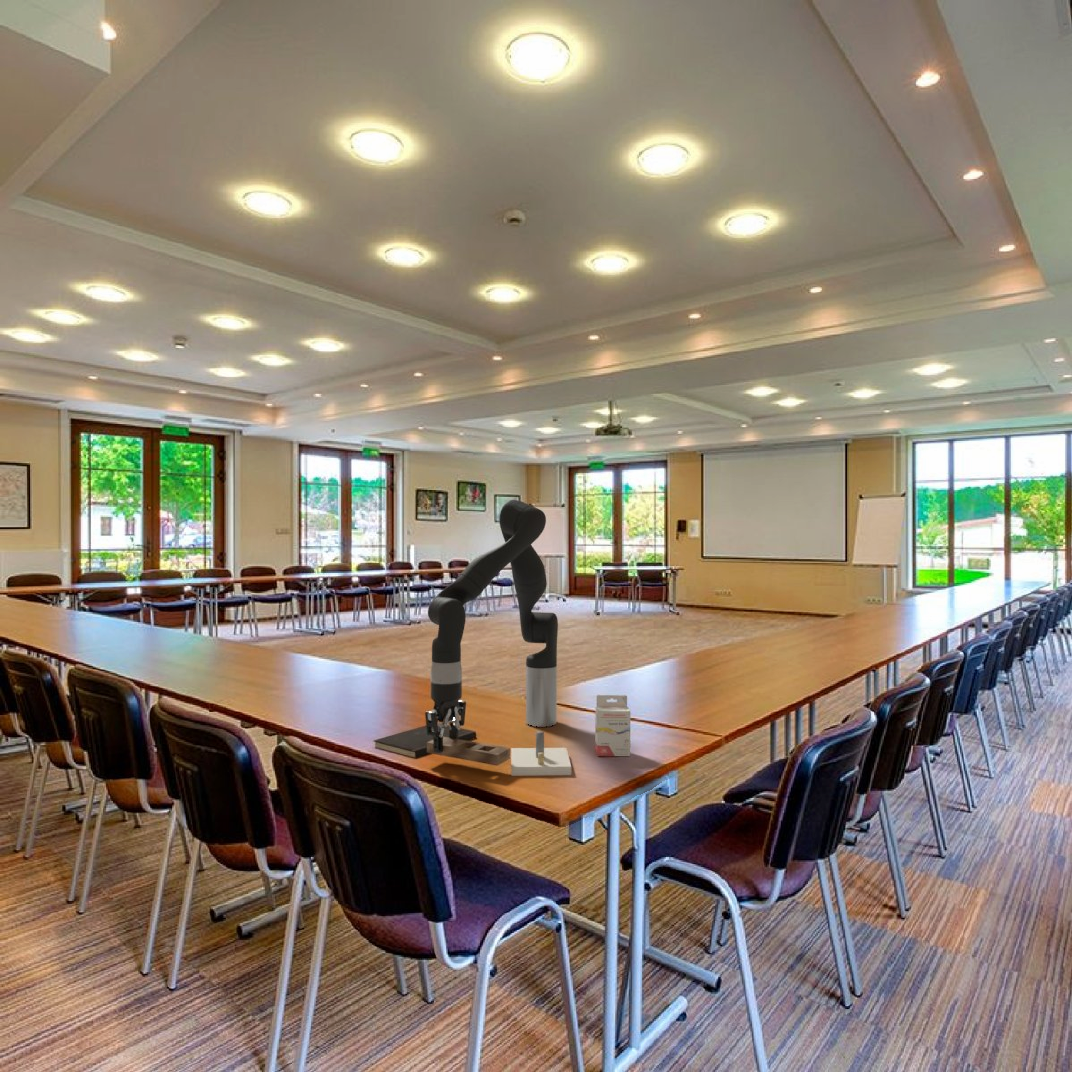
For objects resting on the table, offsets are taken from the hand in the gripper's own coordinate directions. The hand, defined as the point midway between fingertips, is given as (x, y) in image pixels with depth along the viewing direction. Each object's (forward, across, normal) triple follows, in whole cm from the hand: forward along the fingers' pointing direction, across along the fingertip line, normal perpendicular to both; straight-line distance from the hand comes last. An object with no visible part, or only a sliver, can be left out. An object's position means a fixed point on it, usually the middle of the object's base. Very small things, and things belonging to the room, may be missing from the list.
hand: (446, 748), depth 169 cm
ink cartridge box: (+4, +27, -32) cm, 43 cm away
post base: (+4, +10, -20) cm, 23 cm away
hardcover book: (+5, +13, +16) cm, 21 cm away
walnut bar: (+1, 0, -6) cm, 6 cm away
